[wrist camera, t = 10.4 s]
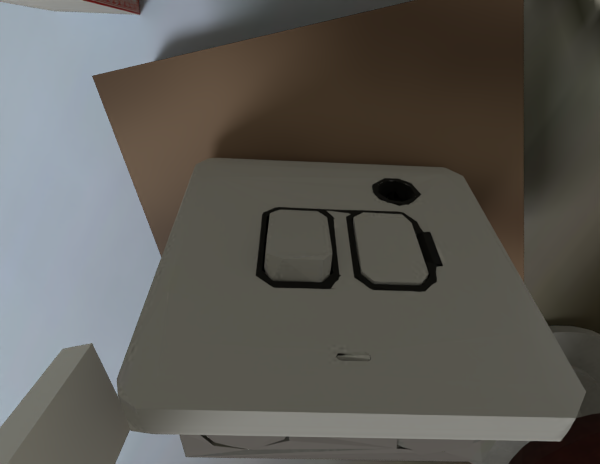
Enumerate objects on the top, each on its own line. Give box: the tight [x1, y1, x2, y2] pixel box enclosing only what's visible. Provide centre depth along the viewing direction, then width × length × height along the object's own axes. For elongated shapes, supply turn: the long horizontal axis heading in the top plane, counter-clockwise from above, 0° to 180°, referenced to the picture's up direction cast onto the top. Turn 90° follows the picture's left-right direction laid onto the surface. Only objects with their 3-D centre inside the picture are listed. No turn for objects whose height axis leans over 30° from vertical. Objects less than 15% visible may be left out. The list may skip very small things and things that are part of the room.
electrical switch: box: [117, 158, 586, 462], centre depth 12 cm, size 9×5×9 cm, turn 87°
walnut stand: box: [92, 0, 524, 282], centre depth 19 cm, size 14×14×6 cm
